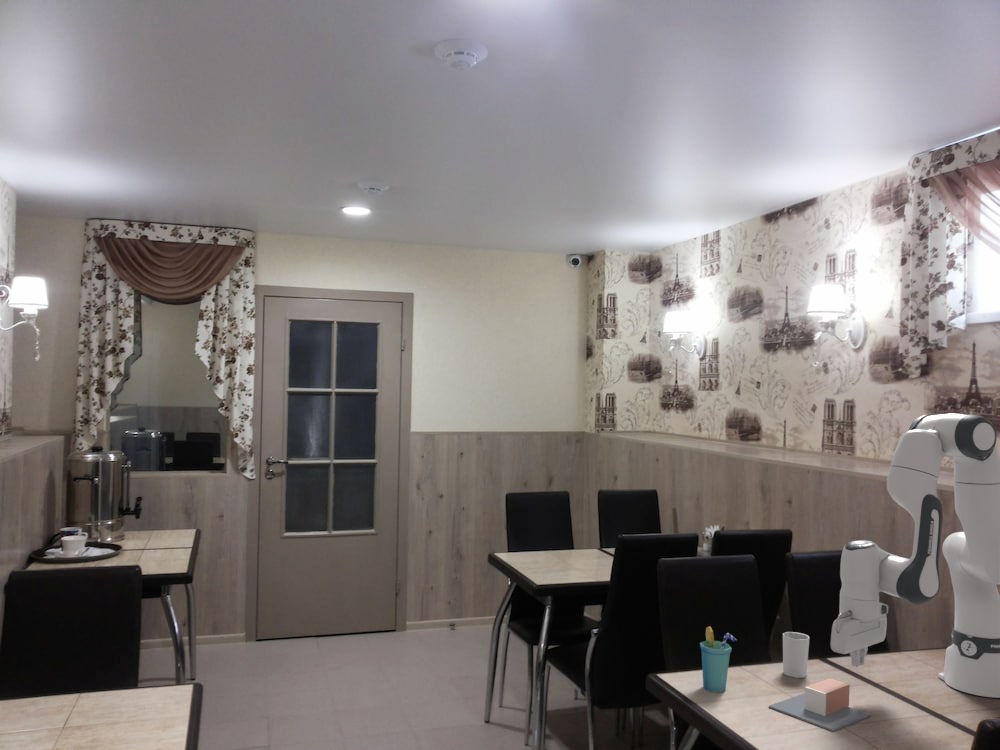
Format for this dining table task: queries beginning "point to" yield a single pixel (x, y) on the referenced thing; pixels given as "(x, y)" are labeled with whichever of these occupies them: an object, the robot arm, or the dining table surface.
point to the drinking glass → (795, 654)
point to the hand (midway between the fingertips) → (858, 665)
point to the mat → (828, 722)
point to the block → (826, 696)
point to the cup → (715, 661)
